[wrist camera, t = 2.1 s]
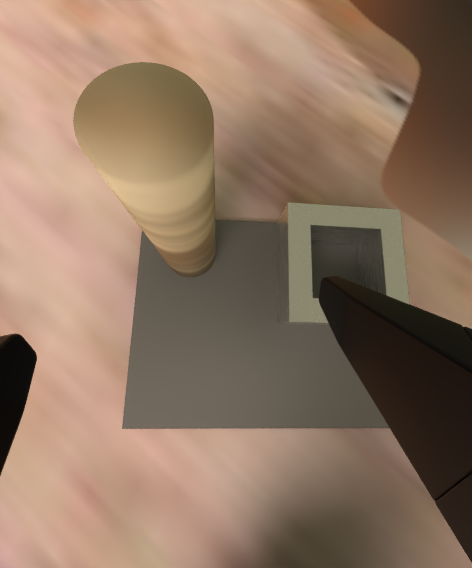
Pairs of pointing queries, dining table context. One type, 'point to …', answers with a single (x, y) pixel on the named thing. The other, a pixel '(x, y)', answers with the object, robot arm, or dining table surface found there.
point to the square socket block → (336, 230)
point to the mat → (238, 344)
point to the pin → (155, 156)
